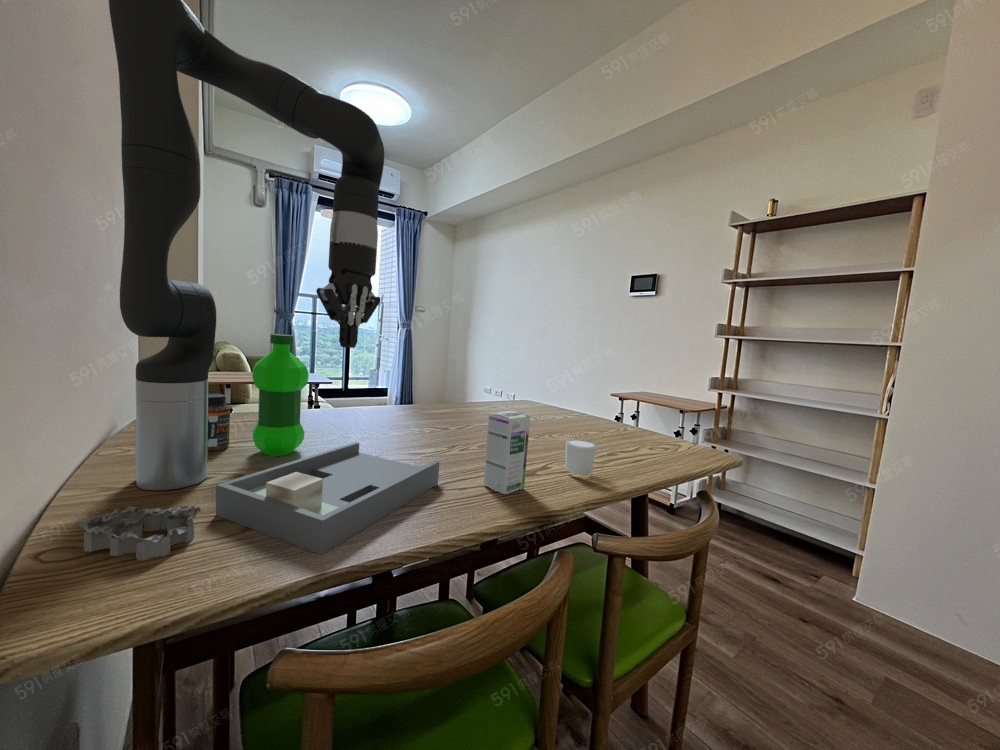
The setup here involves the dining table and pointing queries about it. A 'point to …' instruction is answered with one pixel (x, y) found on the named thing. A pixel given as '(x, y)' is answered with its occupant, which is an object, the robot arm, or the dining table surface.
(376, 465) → the box
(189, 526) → the grey cookie cutter
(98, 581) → the dining table surface
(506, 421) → the syrup box
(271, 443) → the plastic bottle
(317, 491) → the block
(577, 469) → the white cylinder
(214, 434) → the supplement bottle
